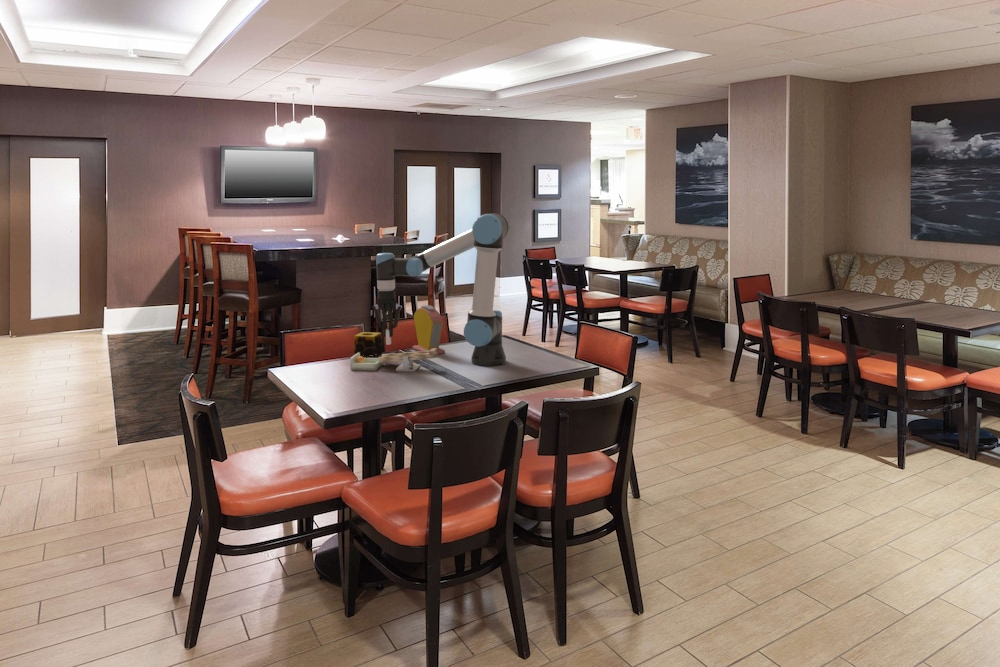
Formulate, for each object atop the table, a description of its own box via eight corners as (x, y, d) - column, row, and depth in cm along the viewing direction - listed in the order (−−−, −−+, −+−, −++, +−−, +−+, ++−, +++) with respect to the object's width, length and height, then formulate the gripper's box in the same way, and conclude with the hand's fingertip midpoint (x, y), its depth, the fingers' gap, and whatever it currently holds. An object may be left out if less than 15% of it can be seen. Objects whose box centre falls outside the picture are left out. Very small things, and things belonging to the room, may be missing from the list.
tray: (382, 364, 322) (382, 353, 321) (375, 370, 311) (375, 358, 310) (358, 363, 323) (358, 352, 322) (350, 369, 313) (349, 358, 312)
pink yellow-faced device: (447, 354, 341) (447, 308, 337) (429, 357, 336) (428, 309, 332) (427, 346, 360) (426, 301, 356) (409, 348, 355) (408, 303, 351)
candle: (375, 358, 334) (374, 336, 332) (353, 357, 336) (353, 335, 334) (383, 353, 343) (382, 332, 342) (362, 352, 345) (361, 331, 344)
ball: (356, 357, 319) (360, 364, 319) (354, 359, 315) (357, 366, 316) (364, 354, 318) (367, 361, 319) (361, 356, 315) (364, 363, 315)
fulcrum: (420, 366, 319) (419, 351, 318) (414, 371, 310) (414, 356, 308) (402, 365, 320) (401, 351, 319) (395, 370, 311) (395, 356, 310)
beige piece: (441, 354, 322) (439, 344, 321) (434, 360, 310) (433, 351, 309) (385, 358, 326) (383, 349, 325) (376, 365, 313) (375, 355, 313)
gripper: (403, 288, 320) (405, 342, 324) (374, 288, 322) (376, 342, 326) (399, 290, 313) (401, 346, 317) (368, 290, 314) (371, 345, 319)
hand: (388, 344), depth 321 cm, fingers closed
